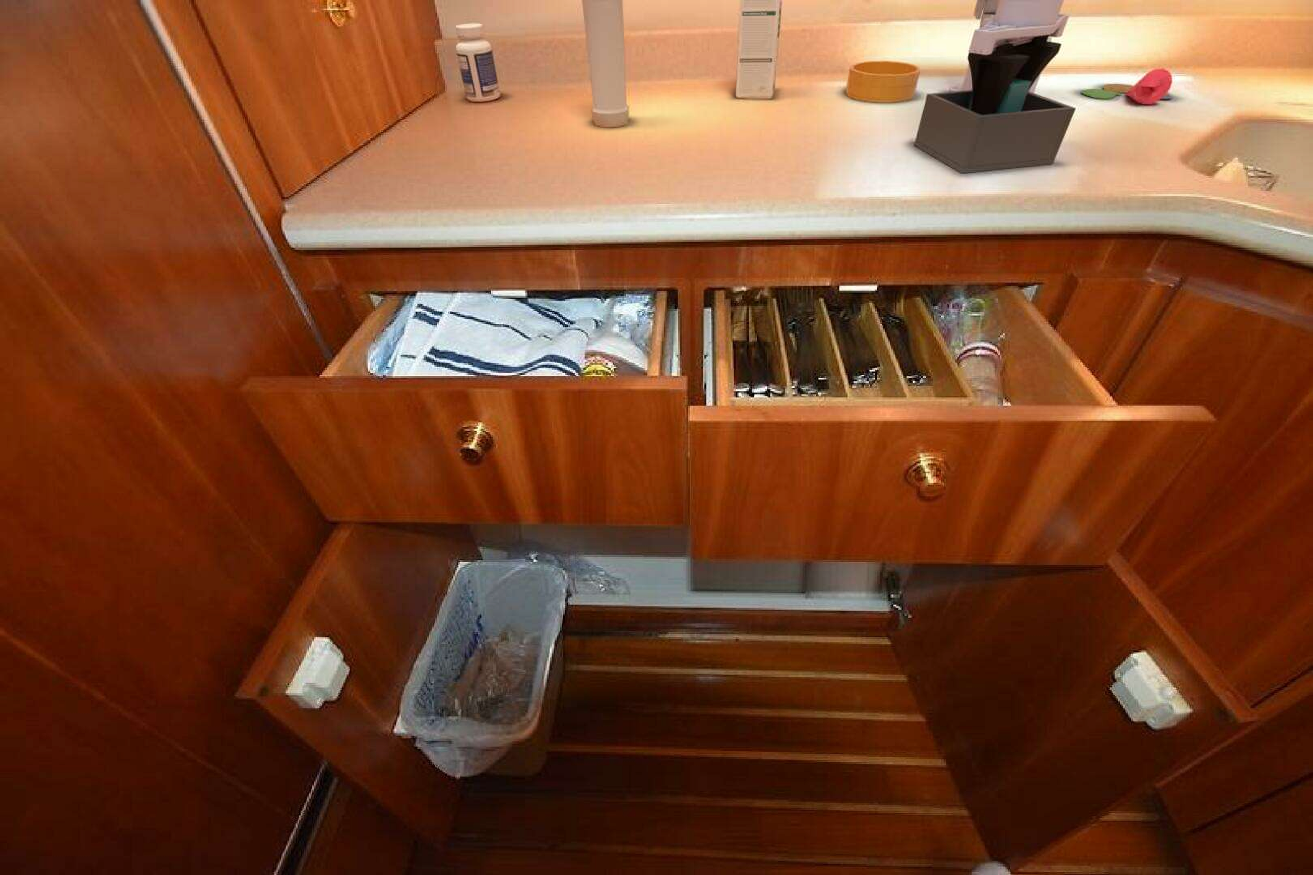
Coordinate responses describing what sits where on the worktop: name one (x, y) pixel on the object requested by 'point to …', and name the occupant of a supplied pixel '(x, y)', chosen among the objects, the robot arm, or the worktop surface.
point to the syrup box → (757, 48)
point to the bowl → (882, 81)
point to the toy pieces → (1138, 88)
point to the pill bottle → (476, 64)
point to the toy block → (1013, 97)
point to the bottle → (606, 61)
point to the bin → (991, 132)
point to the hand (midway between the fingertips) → (991, 120)
